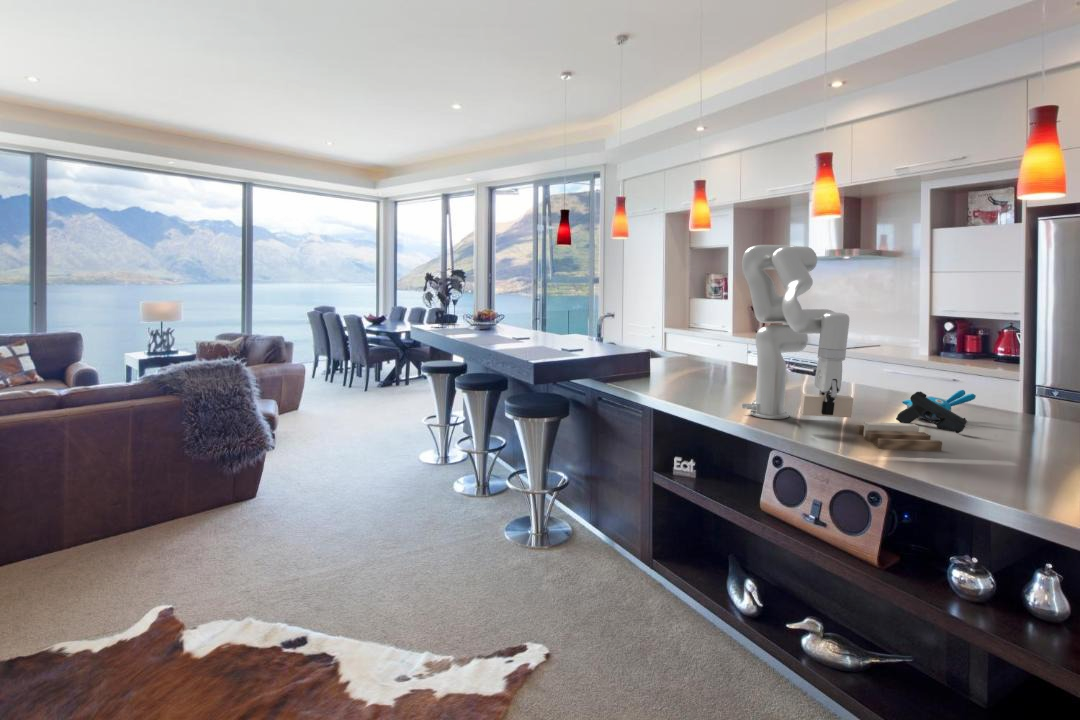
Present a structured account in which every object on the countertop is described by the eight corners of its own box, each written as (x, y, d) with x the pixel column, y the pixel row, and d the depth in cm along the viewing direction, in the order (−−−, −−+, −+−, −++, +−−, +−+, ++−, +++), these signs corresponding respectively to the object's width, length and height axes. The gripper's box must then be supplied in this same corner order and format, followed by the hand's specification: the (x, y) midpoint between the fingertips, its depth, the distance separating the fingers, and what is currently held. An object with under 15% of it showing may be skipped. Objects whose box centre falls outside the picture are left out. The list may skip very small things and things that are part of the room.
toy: (982, 428, 197) (985, 397, 196) (918, 425, 201) (920, 395, 199) (954, 414, 216) (956, 386, 215) (896, 412, 220) (898, 384, 219)
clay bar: (802, 415, 187) (804, 396, 186) (800, 412, 190) (801, 393, 189) (851, 417, 185) (853, 398, 184) (847, 414, 188) (849, 395, 187)
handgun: (896, 418, 203) (916, 388, 198) (948, 449, 193) (971, 418, 187) (894, 419, 202) (913, 389, 196) (946, 451, 191) (969, 420, 186)
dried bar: (867, 437, 182) (868, 424, 181) (863, 435, 185) (864, 422, 184) (917, 439, 180) (919, 426, 179) (913, 436, 183) (914, 423, 182)
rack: (879, 452, 171) (880, 439, 170) (856, 436, 187) (857, 425, 187) (941, 454, 168) (942, 441, 168) (912, 438, 185) (913, 426, 185)
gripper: (810, 348, 192) (804, 405, 196) (827, 358, 176) (820, 419, 180) (835, 349, 191) (829, 406, 195) (854, 359, 175) (847, 421, 179)
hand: (825, 412), depth 187 cm, fingers closed on clay bar, 3 cm apart
